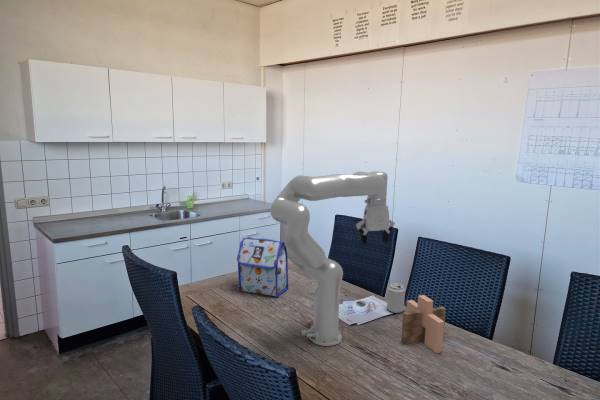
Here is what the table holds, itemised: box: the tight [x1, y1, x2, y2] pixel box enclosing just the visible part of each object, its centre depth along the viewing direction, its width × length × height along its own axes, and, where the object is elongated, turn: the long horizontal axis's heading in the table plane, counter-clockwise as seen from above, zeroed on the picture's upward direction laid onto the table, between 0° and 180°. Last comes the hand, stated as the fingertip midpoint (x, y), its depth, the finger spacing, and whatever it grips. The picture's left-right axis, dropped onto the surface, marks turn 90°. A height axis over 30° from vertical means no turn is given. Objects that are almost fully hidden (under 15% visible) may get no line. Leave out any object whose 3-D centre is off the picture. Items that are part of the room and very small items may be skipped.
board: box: [400, 306, 447, 345], centre depth 156 cm, size 18×2×12 cm, turn 109°
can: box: [386, 282, 406, 314], centre depth 182 cm, size 8×8×12 cm
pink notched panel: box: [405, 294, 445, 354], centre depth 156 cm, size 20×2×17 cm, turn 19°
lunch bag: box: [236, 236, 290, 298], centre depth 200 cm, size 23×17×27 cm
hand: (374, 243), depth 166 cm, fingers open, 9 cm apart
